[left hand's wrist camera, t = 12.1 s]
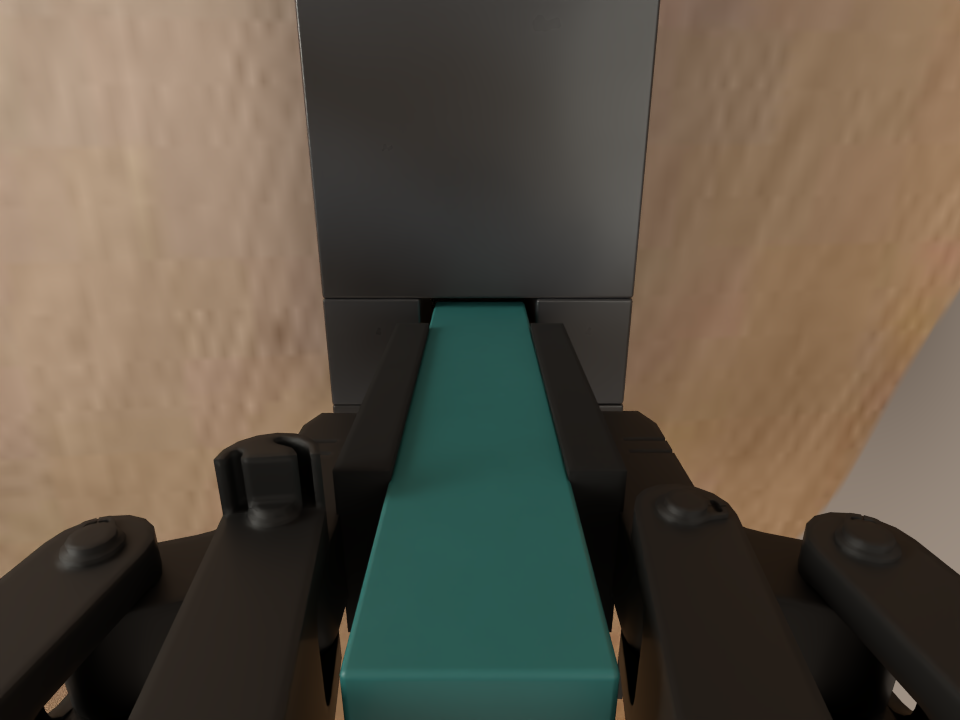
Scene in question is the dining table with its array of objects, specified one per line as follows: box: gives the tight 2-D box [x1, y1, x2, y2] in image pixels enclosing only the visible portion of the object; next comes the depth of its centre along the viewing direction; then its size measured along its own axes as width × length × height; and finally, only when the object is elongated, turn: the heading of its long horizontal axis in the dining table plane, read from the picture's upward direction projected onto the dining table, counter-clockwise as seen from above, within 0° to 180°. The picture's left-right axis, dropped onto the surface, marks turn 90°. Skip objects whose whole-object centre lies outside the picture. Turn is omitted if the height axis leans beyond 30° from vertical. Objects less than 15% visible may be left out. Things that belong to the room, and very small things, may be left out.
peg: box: [340, 302, 620, 720], centre depth 11 cm, size 2×2×12 cm
